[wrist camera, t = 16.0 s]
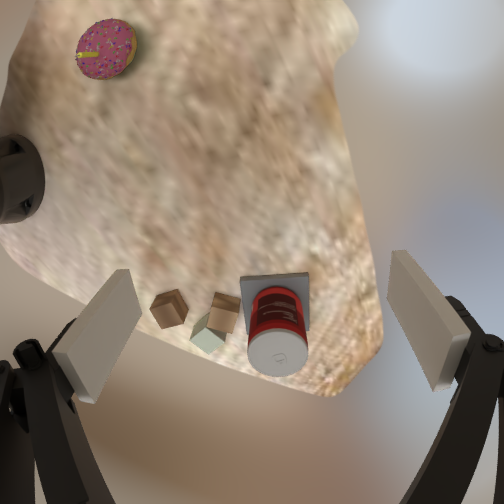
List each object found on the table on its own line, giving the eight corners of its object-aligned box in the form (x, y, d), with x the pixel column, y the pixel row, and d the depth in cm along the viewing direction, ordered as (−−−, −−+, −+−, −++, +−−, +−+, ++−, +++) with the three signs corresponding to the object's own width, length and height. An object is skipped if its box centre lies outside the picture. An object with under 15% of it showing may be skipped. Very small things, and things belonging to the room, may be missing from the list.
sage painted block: (212, 339, 54) (208, 354, 50) (194, 325, 52) (189, 340, 49) (227, 326, 52) (224, 342, 49) (209, 312, 51) (205, 327, 48)
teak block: (210, 312, 51) (206, 327, 48) (215, 291, 50) (211, 306, 46) (234, 318, 51) (232, 333, 48) (240, 298, 50) (238, 313, 46)
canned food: (272, 335, 51) (272, 385, 41) (240, 302, 48) (233, 350, 38) (312, 311, 49) (320, 360, 39) (282, 275, 46) (284, 321, 36)
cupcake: (152, 70, 36) (112, 59, 25) (98, 90, 37) (48, 89, 26) (142, 17, 33) (103, -8, 22) (90, 38, 34) (41, 25, 23)
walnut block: (168, 314, 52) (161, 329, 48) (156, 295, 50) (149, 309, 47) (188, 309, 51) (183, 323, 48) (177, 288, 50) (171, 302, 46)
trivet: (247, 330, 52) (247, 334, 51) (240, 277, 48) (239, 281, 47) (308, 326, 51) (309, 330, 50) (307, 272, 47) (308, 276, 46)
